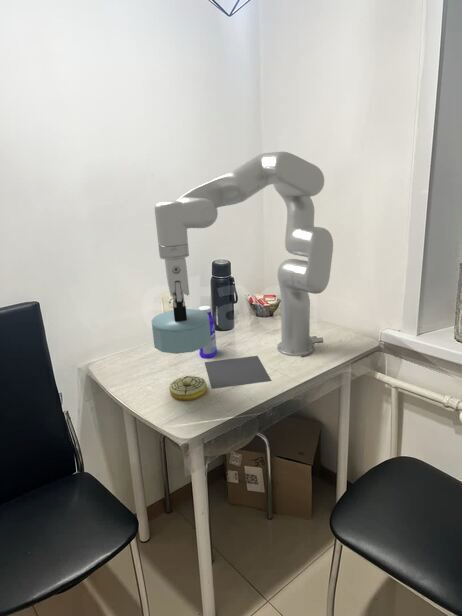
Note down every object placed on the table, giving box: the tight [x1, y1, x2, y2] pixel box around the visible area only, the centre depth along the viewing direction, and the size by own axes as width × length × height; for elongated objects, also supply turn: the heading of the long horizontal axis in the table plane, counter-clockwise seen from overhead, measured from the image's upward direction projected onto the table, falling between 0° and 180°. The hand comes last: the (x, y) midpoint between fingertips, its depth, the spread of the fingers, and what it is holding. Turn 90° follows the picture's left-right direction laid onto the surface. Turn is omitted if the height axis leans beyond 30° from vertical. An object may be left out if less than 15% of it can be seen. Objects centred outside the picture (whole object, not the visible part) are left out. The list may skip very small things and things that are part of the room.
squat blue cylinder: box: [151, 300, 211, 355], centre depth 111 cm, size 15×15×11 cm
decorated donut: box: [168, 375, 208, 402], centre depth 118 cm, size 10×11×4 cm
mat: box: [204, 355, 273, 390], centre depth 129 cm, size 18×18×1 cm
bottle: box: [198, 305, 218, 359], centre depth 139 cm, size 7×6×17 cm
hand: (180, 317), depth 111 cm, fingers closed on squat blue cylinder, 3 cm apart
